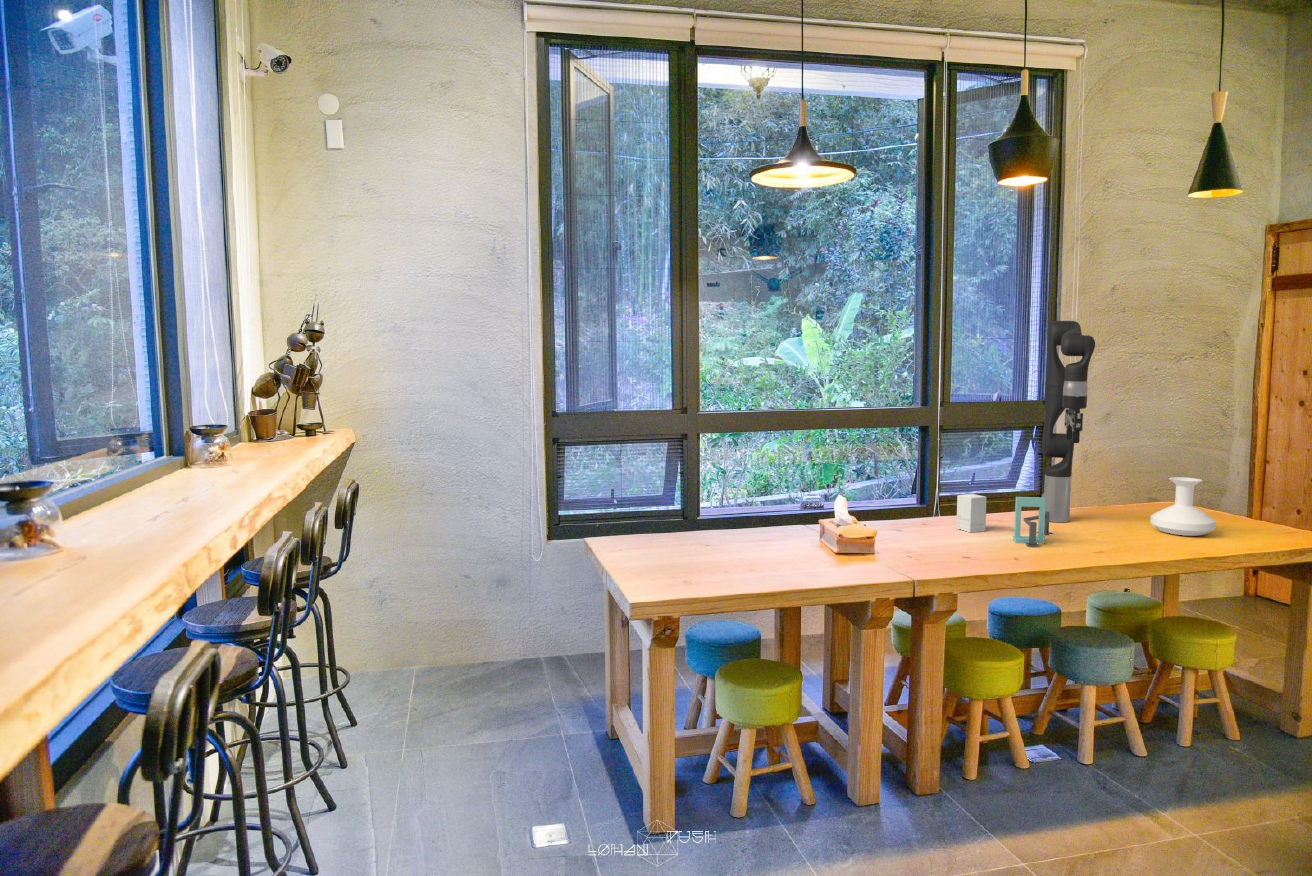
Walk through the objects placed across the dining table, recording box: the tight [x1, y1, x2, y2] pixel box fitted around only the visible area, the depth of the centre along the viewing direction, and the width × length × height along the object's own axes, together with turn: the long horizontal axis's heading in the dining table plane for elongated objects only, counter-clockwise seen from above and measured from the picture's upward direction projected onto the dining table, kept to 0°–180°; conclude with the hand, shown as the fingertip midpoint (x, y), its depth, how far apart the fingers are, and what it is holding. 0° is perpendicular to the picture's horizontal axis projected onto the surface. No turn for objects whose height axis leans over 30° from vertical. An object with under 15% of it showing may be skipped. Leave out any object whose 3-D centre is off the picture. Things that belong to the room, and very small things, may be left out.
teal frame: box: [1012, 496, 1046, 545], centre depth 298 cm, size 4×9×15 cm, turn 80°
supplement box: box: [956, 493, 987, 533], centre depth 317 cm, size 7×7×13 cm
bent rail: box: [1023, 511, 1053, 548], centre depth 303 cm, size 8×26×8 cm, turn 146°
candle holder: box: [1149, 476, 1217, 537], centre depth 312 cm, size 20×20×19 cm
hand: (1072, 441), depth 303 cm, fingers open, 8 cm apart
